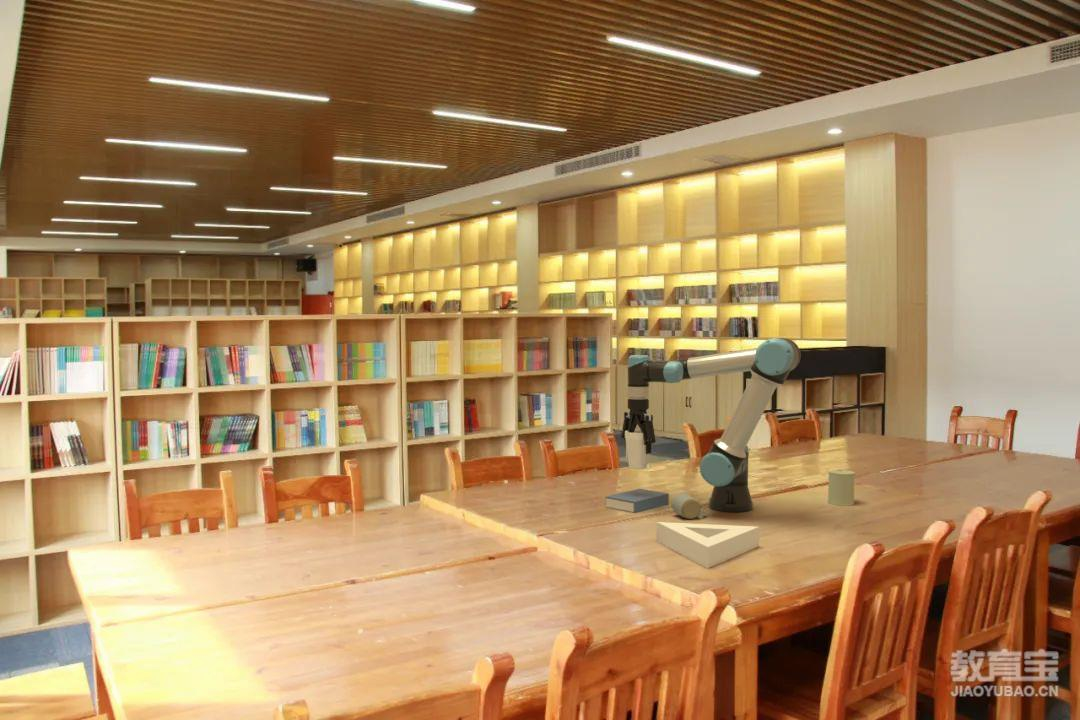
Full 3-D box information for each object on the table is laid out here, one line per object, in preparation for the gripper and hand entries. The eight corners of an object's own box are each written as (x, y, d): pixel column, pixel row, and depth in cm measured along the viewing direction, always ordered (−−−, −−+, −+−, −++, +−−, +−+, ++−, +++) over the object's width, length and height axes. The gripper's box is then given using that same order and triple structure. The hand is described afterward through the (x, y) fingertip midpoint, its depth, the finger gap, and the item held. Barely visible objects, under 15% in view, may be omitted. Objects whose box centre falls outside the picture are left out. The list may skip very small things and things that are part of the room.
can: (850, 500, 312) (851, 468, 311) (857, 505, 302) (858, 472, 302) (825, 500, 312) (825, 468, 312) (831, 505, 303) (831, 472, 303)
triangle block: (656, 542, 253) (656, 521, 252) (731, 535, 261) (731, 515, 261) (707, 570, 224) (707, 547, 224) (789, 561, 233) (790, 539, 233)
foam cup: (652, 470, 296) (652, 433, 295) (626, 470, 296) (626, 433, 295) (649, 465, 305) (649, 430, 305) (623, 465, 305) (624, 430, 305)
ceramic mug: (681, 520, 279) (682, 497, 278) (671, 515, 286) (671, 492, 286) (710, 519, 282) (711, 496, 281) (699, 513, 289) (699, 491, 289)
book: (668, 505, 304) (668, 493, 304) (634, 514, 289) (634, 501, 289) (639, 500, 313) (639, 488, 313) (605, 508, 298) (605, 496, 298)
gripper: (666, 400, 292) (665, 464, 293) (628, 395, 311) (627, 455, 312) (649, 401, 288) (648, 465, 289) (611, 396, 307) (611, 457, 308)
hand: (637, 460), depth 300 cm, fingers closed on foam cup, 9 cm apart
